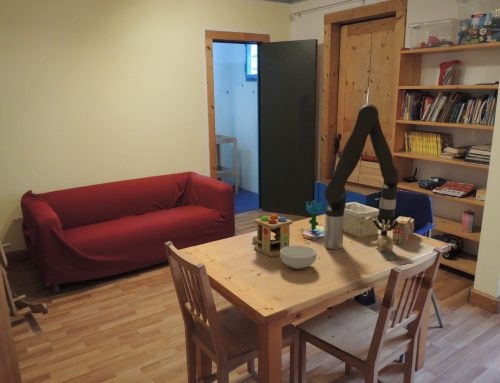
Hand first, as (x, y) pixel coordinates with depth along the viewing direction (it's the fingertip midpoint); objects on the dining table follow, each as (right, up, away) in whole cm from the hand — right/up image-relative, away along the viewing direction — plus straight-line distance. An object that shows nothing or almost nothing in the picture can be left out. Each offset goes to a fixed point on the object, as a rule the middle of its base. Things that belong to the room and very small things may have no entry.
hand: (383, 237), depth 213 cm
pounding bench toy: (-59, -6, +4) cm, 60 cm away
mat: (0, -8, -8) cm, 11 cm away
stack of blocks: (+16, -3, +15) cm, 22 cm away
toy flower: (-32, -1, +28) cm, 42 cm away
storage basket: (-7, 0, +29) cm, 30 cm away
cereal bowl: (-46, -11, -20) cm, 52 cm away
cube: (0, -6, -2) cm, 6 cm away
